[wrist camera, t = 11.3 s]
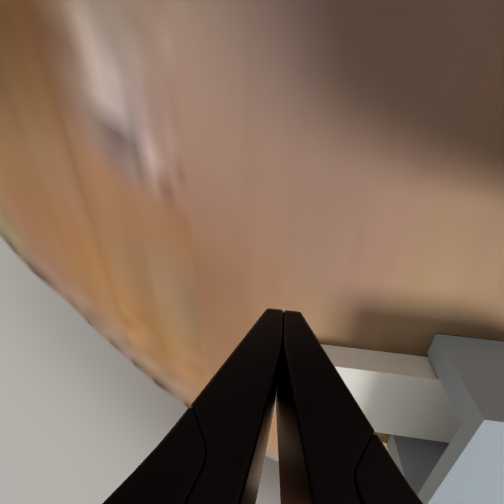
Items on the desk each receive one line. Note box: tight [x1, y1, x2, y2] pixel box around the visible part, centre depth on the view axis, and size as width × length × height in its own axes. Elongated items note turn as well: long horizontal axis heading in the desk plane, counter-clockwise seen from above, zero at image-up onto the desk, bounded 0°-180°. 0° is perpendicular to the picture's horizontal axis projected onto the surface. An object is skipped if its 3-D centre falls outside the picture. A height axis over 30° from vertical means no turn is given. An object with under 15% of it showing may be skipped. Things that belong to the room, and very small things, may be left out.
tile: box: [321, 344, 461, 443], centre depth 24 cm, size 14×7×2 cm, turn 88°
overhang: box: [387, 334, 504, 504], centre depth 22 cm, size 8×14×6 cm, turn 177°
